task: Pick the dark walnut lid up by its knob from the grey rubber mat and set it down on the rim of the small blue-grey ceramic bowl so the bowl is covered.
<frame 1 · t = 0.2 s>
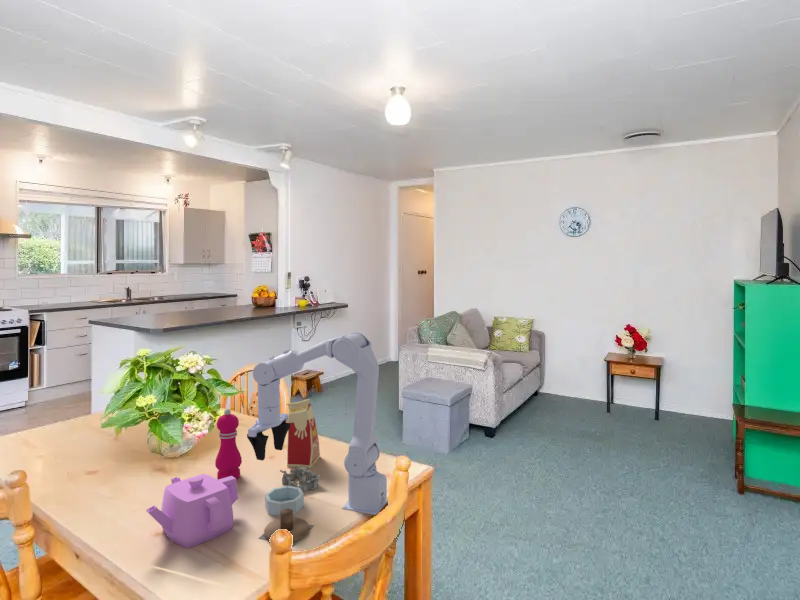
hand: (269, 454, 134), 10 cm above the table, tool pointing down, fingers open, 7 cm apart
teakettle: (194, 530, 115), on the table
egg carton: (300, 486, 138), on the table
pepper mill: (228, 477, 143), on the table
mat: (286, 533, 113), on the table
bowl: (284, 507, 125), on the table
lid: (286, 531, 113), resting on mat
milk carton: (301, 462, 154), on the table
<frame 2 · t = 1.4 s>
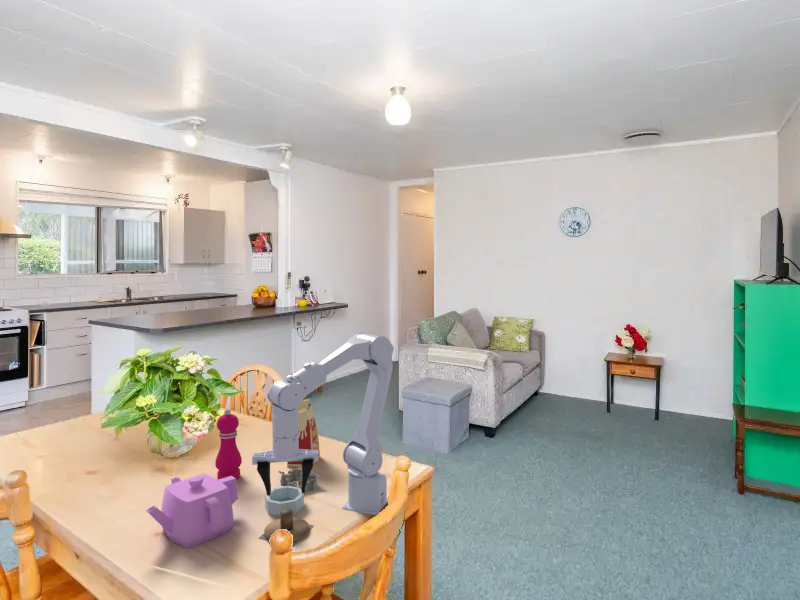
hand: (286, 492, 113), 10 cm above the table, tool pointing down, fingers open, 7 cm apart
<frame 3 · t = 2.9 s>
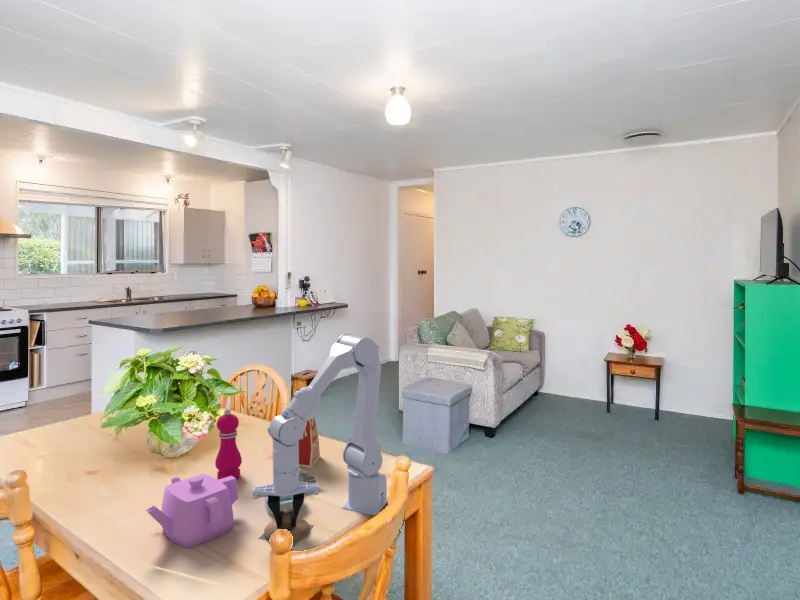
hand: (286, 525, 113), 2 cm above the table, tool pointing down, fingers closed on lid, 3 cm apart
lid: (286, 531, 113), resting on mat, touching gripper
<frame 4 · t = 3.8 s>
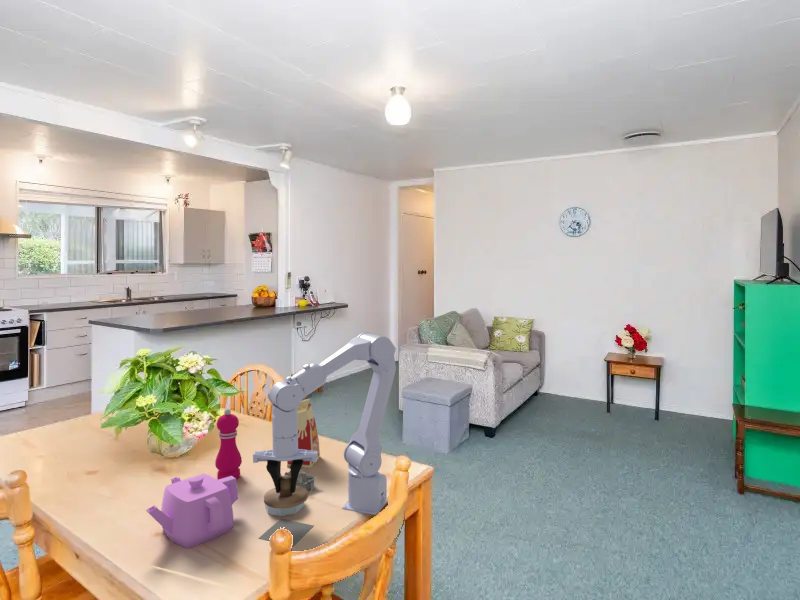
hand: (286, 491, 115), 9 cm above the table, tool pointing down, fingers closed on lid, 3 cm apart
lid: (286, 498, 115), point 7 cm above the table, touching gripper
when the fingers open (6 cm above the table, at t = 5.0 s): lid stays where it is, resting on bowl.
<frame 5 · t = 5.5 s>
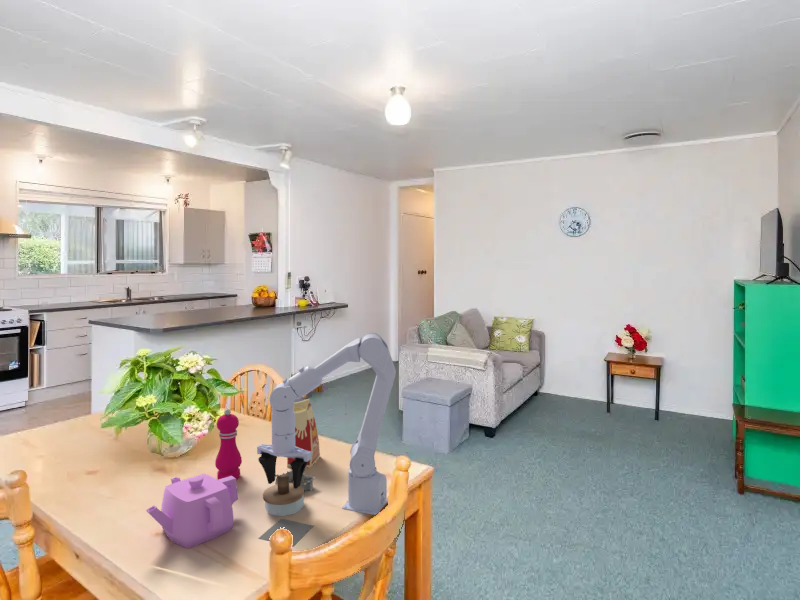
hand: (284, 484, 125), 6 cm above the table, tool pointing down, fingers open, 7 cm apart
lid: (283, 495, 125), point 3 cm above the table, touching bowl
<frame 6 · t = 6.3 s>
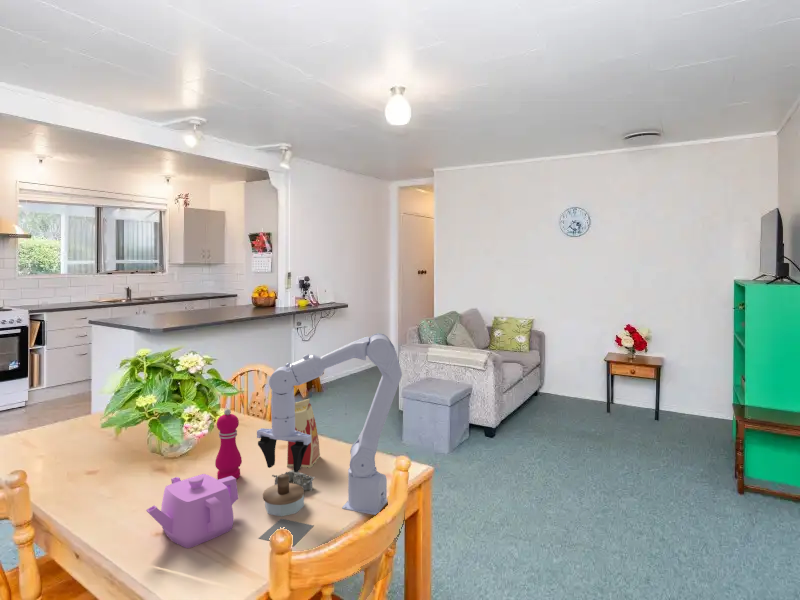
hand: (284, 468, 124), 10 cm above the table, tool pointing down, fingers open, 7 cm apart
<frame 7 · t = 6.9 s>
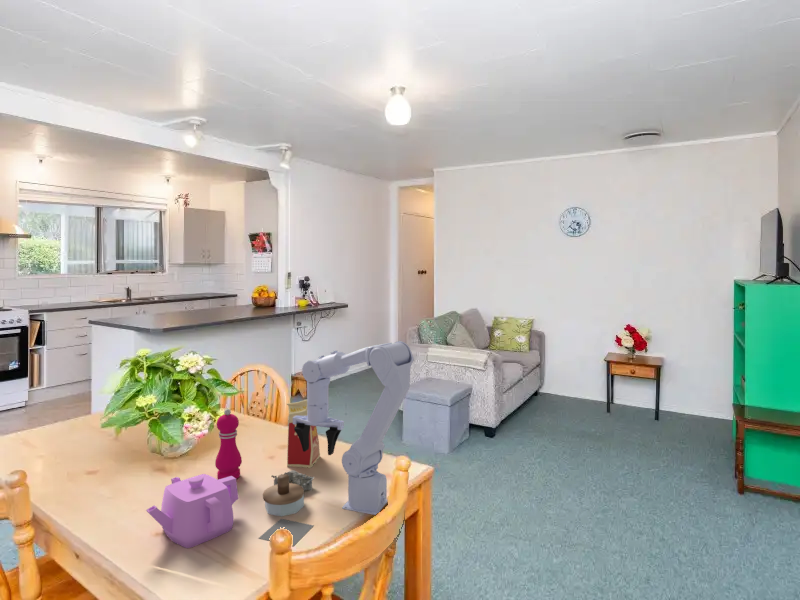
hand: (318, 452, 135), 10 cm above the table, tool pointing down, fingers open, 7 cm apart
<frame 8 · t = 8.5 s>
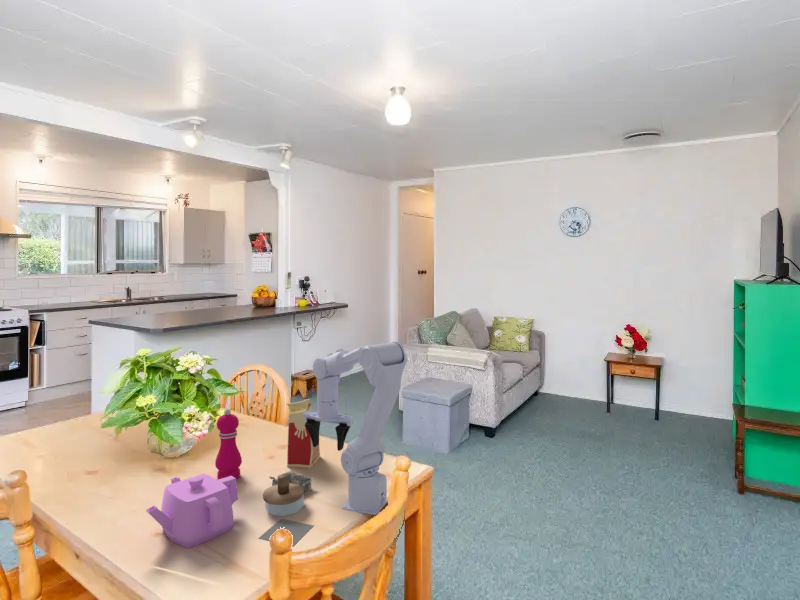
hand: (328, 447, 138), 10 cm above the table, tool pointing down, fingers open, 7 cm apart
at the end: lid 0.4 cm from the bowl (horizontally); lid point 3.5 cm above the table; lid tilted 0° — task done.
